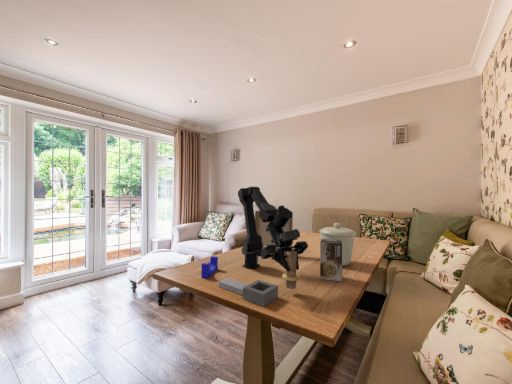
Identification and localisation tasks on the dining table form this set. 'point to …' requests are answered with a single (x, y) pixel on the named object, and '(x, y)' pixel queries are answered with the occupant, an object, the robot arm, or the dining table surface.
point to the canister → (340, 234)
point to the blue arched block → (209, 267)
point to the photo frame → (266, 234)
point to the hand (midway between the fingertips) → (293, 270)
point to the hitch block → (252, 290)
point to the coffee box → (331, 259)
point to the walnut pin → (291, 270)
